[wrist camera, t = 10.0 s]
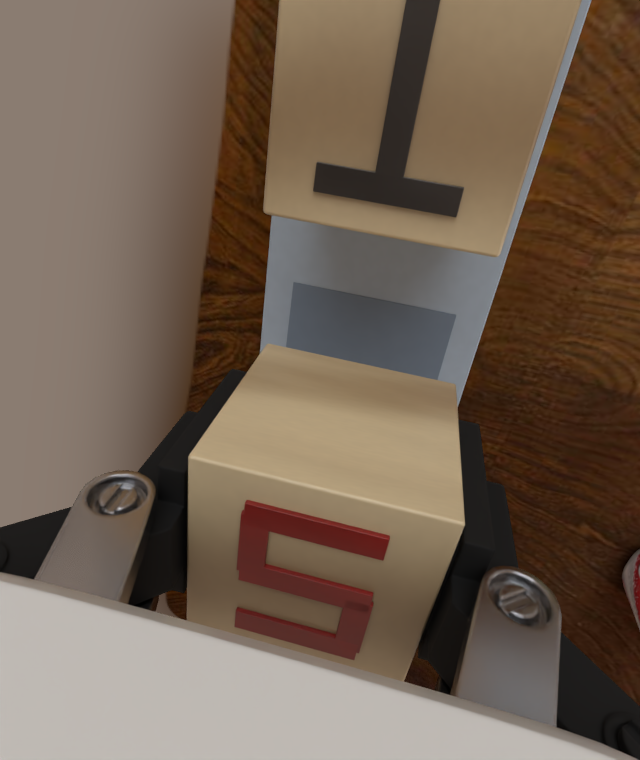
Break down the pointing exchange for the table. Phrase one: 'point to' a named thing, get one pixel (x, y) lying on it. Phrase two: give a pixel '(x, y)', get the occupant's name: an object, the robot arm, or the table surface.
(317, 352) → the grey display stand
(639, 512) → the table surface
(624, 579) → the soda can
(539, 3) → the tile
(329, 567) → the tile
